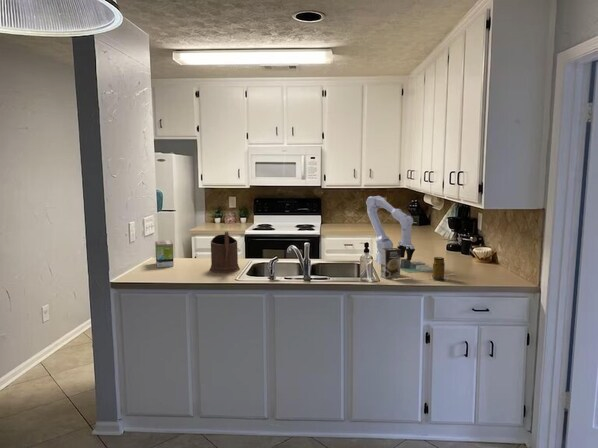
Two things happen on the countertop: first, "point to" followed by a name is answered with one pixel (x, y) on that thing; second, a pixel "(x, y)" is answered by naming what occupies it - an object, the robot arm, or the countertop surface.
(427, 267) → the board
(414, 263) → the grey knob block
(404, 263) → the plug
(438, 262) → the condiment
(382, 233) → the robot arm
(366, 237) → the countertop surface
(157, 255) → the tea box
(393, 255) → the coffee box
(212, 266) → the brown tall hollow container
